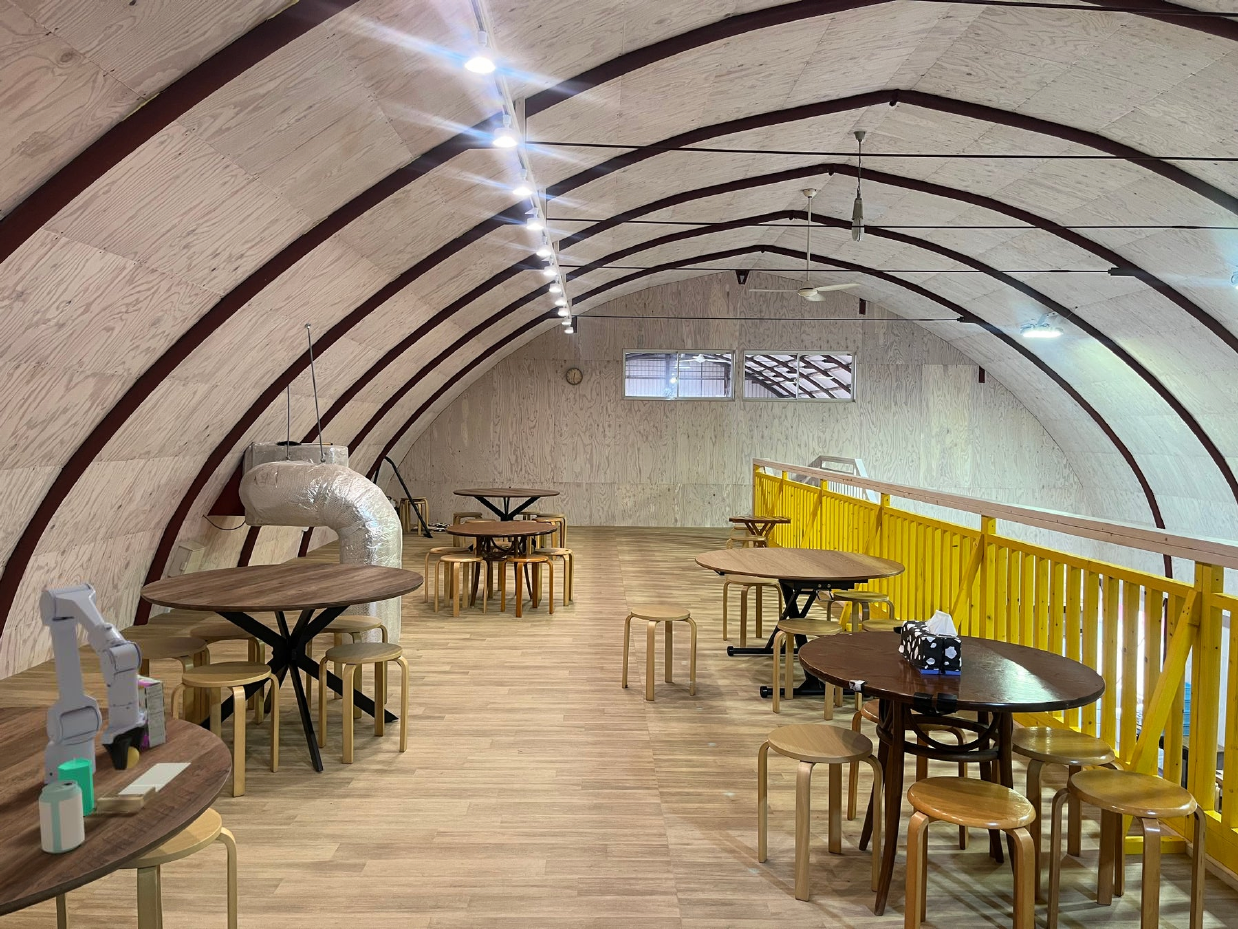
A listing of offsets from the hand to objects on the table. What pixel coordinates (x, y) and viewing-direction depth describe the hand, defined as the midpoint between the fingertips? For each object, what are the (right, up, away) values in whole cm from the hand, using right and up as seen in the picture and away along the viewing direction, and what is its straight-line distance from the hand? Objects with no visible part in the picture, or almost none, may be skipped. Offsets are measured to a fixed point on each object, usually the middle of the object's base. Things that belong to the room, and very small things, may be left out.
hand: (127, 764), depth 196 cm
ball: (0, -1, 0) cm, 1 cm away
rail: (0, -8, 0) cm, 8 cm away
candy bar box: (-14, -6, +35) cm, 38 cm away
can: (-3, -10, -18) cm, 21 cm away
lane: (0, -8, +9) cm, 12 cm away
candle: (-8, -9, -4) cm, 13 cm away
